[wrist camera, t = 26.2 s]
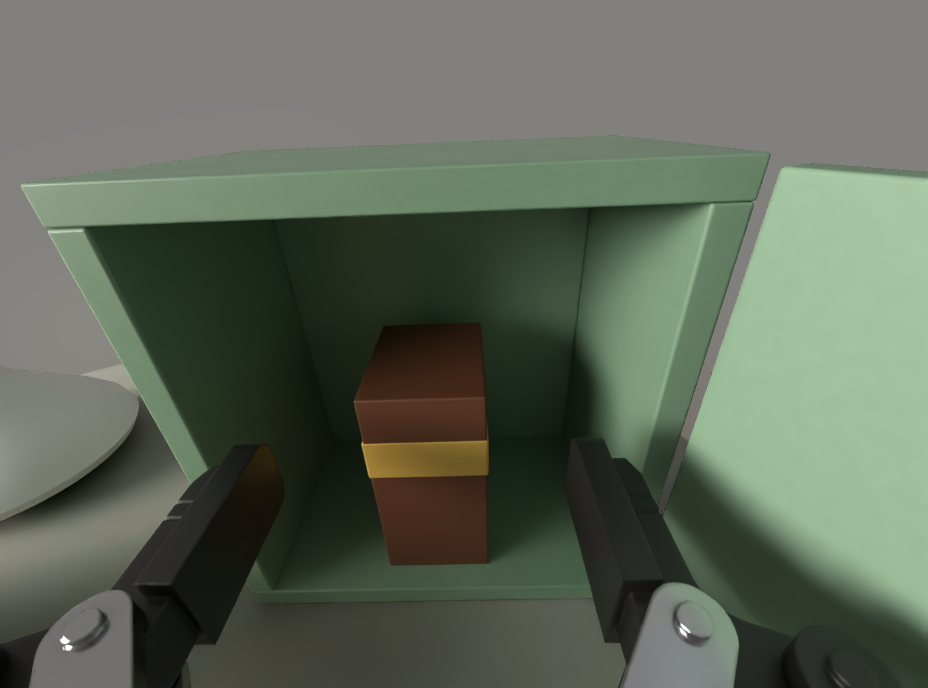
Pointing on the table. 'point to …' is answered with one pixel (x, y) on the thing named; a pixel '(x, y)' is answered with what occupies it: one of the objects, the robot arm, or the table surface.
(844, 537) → the cupboard door
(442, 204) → the cupboard
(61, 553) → the table surface
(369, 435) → the chocolate box
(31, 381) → the flower in vase
